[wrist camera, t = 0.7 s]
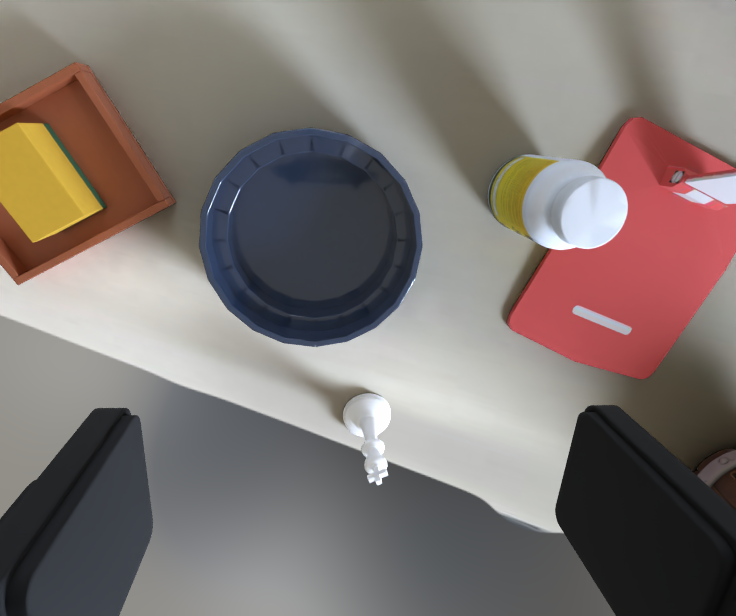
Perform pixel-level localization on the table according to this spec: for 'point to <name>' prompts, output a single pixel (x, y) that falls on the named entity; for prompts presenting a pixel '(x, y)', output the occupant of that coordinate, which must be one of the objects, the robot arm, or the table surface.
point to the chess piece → (369, 430)
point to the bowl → (310, 237)
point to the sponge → (43, 182)
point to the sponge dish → (96, 160)
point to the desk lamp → (638, 258)
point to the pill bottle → (557, 201)
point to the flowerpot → (720, 474)
